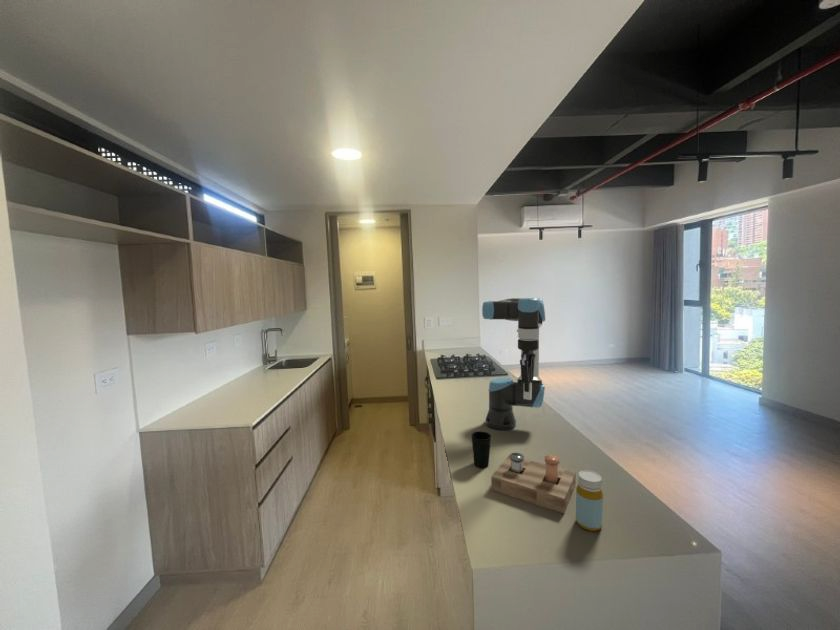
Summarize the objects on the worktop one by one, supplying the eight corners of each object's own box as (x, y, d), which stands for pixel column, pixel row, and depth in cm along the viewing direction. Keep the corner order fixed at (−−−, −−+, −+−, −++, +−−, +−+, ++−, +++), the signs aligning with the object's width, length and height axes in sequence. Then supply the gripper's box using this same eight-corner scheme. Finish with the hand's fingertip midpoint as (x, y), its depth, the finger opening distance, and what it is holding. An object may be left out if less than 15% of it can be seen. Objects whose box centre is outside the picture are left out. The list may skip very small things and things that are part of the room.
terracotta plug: (546, 478, 123) (546, 453, 122) (560, 482, 120) (561, 457, 119) (542, 485, 119) (542, 459, 118) (557, 489, 116) (557, 463, 115)
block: (509, 467, 137) (509, 454, 137) (575, 485, 124) (575, 472, 123) (491, 489, 122) (491, 476, 122) (564, 514, 109) (564, 498, 108)
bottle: (594, 516, 108) (595, 469, 106) (606, 532, 101) (608, 482, 99) (571, 516, 108) (572, 470, 106) (582, 533, 101) (584, 483, 99)
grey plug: (512, 475, 130) (512, 451, 129) (525, 478, 127) (525, 454, 126) (508, 481, 126) (508, 457, 125) (521, 485, 123) (521, 460, 122)
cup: (476, 470, 135) (476, 440, 134) (468, 461, 142) (468, 432, 141) (494, 467, 137) (494, 438, 136) (485, 458, 144) (485, 430, 143)
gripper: (523, 335, 141) (522, 392, 143) (512, 341, 130) (512, 402, 133) (542, 336, 137) (541, 395, 139) (533, 342, 126) (532, 406, 128)
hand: (527, 398), depth 136 cm, fingers closed
